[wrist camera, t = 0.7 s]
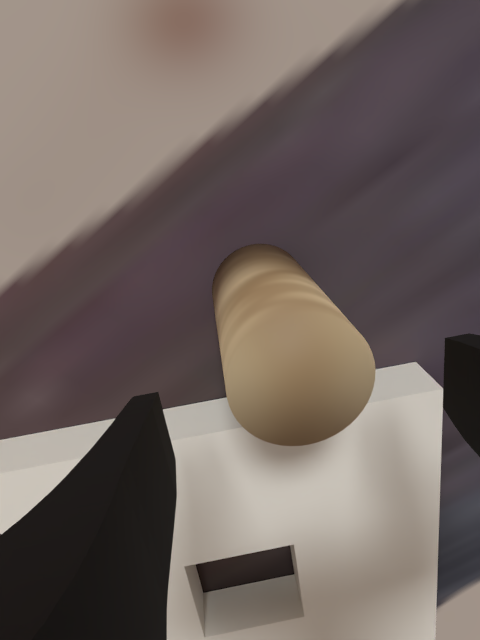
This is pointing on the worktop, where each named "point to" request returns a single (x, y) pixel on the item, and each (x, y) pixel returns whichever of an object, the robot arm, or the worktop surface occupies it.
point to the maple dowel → (287, 350)
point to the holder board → (287, 515)
